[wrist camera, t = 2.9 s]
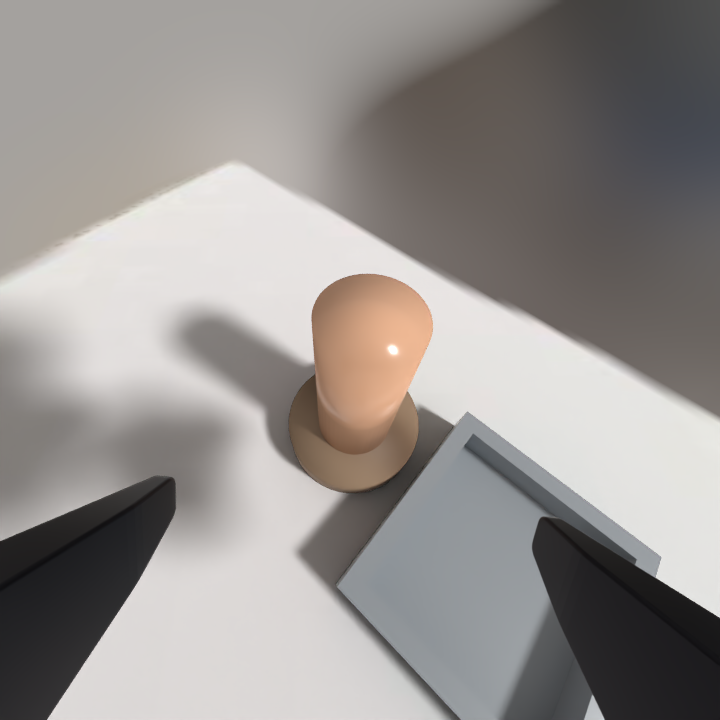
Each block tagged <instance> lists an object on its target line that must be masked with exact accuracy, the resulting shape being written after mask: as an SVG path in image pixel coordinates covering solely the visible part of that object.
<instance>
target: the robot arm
mask: <svg viewBox="0 0 720 720" xmlns="http://www.w3.org/2000/svg"><path fill="white" fill-rule="evenodd" d="M175 509H176V484H175V480H174V478H172V477H167V476H154V477H151V478H149V479H147V480H144V481H142V482H139V483H137V484H135V485H132V486H130V487H128V488H125V489H123V490H120V491H118V492H116V493H113V494H111V495H109V496H106V497H104V498H102V499H99V500H97V501H94V502H92V503H90V504H87V505H85V506H83V507H80V508H78V509H75V510H73V511H71V512H68V513H66V514H64V515H61V516H59V517H57V518H54V519H52V520H49V521H47V522H45V523H42V524H40V525H38V526H35V527H33V528H30V529H28V530H26V531H23V532H21V533H19V534H16V535H14V536H12V537H9V538H7V539H4V540H2V541H0V720H47V719H48V717H49V716H50V714H51V713H52V711H53V710H54V708H55V707H56V705H57V704H58V702H59V701H60V699H61V698H62V696H63V695H64V693H65V692H66V690H67V689H68V687H69V686H70V684H71V683H72V681H73V680H74V678H75V677H76V675H77V673H78V672H79V670H80V669H81V667H82V666H83V664H84V663H85V661H86V660H87V658H88V657H89V655H90V654H91V652H92V651H93V649H94V648H95V646H96V645H97V643H98V642H99V640H100V639H101V637H102V636H103V634H104V633H105V631H106V630H107V628H108V627H109V625H110V624H111V622H112V621H113V619H114V618H115V616H116V615H117V613H118V612H119V610H120V609H121V607H122V606H123V604H124V603H125V601H126V600H127V598H128V597H129V595H130V594H131V592H132V590H133V589H134V587H135V586H136V584H137V583H138V581H139V579H140V577H141V576H142V574H143V572H144V570H145V569H146V567H147V565H148V563H149V561H150V559H151V557H152V555H153V554H154V552H155V550H156V548H157V546H158V544H159V542H160V541H161V539H162V537H163V535H164V533H165V531H166V529H167V528H168V526H169V524H170V522H171V520H172V518H173V516H174V513H175ZM532 552H533V556H534V558H535V561H536V564H537V566H538V569H539V572H540V574H541V577H542V580H543V582H544V585H545V588H546V590H547V593H548V596H549V599H550V601H551V604H552V607H553V609H554V612H555V614H556V617H557V619H558V622H559V624H560V626H561V628H562V631H563V633H564V635H565V637H566V639H567V641H568V644H569V646H570V648H571V650H572V652H573V654H574V656H575V658H576V660H577V663H578V665H579V667H580V669H581V671H582V673H583V675H584V677H585V679H586V682H587V684H588V686H589V688H590V690H591V692H592V694H593V696H594V698H595V701H596V703H597V705H598V707H599V709H600V711H601V713H602V715H603V717H604V720H720V618H719V617H717V616H716V615H714V614H713V613H711V612H709V611H708V610H706V609H705V608H703V607H701V606H700V605H698V604H697V603H695V602H693V601H692V600H690V599H689V598H687V597H685V596H684V595H682V594H681V593H679V592H677V591H676V590H674V589H673V588H671V587H669V586H668V585H666V584H665V583H663V582H661V581H660V580H658V579H657V578H655V577H653V576H652V575H650V574H649V573H647V572H645V571H644V570H642V569H641V568H639V567H637V566H636V565H634V564H633V563H631V562H629V561H628V560H626V559H625V558H623V557H621V556H620V555H618V554H617V553H615V552H613V551H612V550H610V549H609V548H607V547H605V546H604V545H602V544H601V543H599V542H597V541H596V540H594V539H592V538H591V537H589V536H588V535H586V534H584V533H583V532H581V531H580V530H578V529H576V528H575V527H573V526H572V525H570V524H568V523H567V522H565V521H564V520H562V519H560V518H557V517H549V516H543V517H541V518H540V519H539V521H538V524H537V528H536V531H535V535H534V538H533V541H532Z"/></svg>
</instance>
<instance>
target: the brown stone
mask: <svg viewBox="0 0 720 720" xmlns="http://www.w3.org/2000/svg"><path fill="white" fill-rule="evenodd" d="M418 430H419V422H418V415H417V411H416V407H415V405H414V402H413V400H412V398H411V396H410V394H409V393H408V392H406V395H405V397H404V399H403V401H402V403H401V406H400V408H399V410H398V412H397V414H396V416H395V419H394V421H393V423H392V425H391V427H390V430H389V432H388V434H387V436H386V438H385V439H384V441H383V442H382V443H381V444H380V445H379V446H378V447H377V448H375V449H374V450H372V451H370V452H367V453H364V454H357V455H354V454H346V453H343V452H340V451H338V450H336V449H335V448H333V447H332V446H331V445H330V444H329V443H328V442H327V441H326V440H325V438H324V437H323V435H322V433H321V430H320V427H319V417H318V403H317V388H316V374H315V375H314V376H312V377H311V378H310V379H309V380H308V381H307V382H306V383H305V384H304V385H303V386H302V387H301V389H300V390H299V391H298V393H297V395H296V397H295V398H294V401H293V403H292V406H291V410H290V415H289V432H290V438H291V441H292V445H293V448H294V451H295V454H296V457H297V459H298V461H299V463H300V464H301V466H302V467H303V469H304V470H305V471H306V472H307V474H308V475H309V476H310V477H312V478H313V479H314V480H315V481H316V482H318V483H319V484H321V485H323V486H325V487H327V488H329V489H331V490H335V491H338V492H343V493H362V492H367V491H371V490H374V489H376V488H379V487H381V486H383V485H384V484H386V483H387V482H389V481H390V480H391V479H392V478H394V477H395V476H396V475H397V473H398V472H399V471H400V470H401V469H402V467H403V466H404V465H405V464H406V462H407V461H408V459H409V458H410V456H411V454H412V452H413V450H414V448H415V445H416V442H417V438H418Z"/></svg>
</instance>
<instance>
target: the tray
mask: <svg viewBox="0 0 720 720" xmlns="http://www.w3.org/2000/svg"><path fill="white" fill-rule="evenodd" d="M543 516H549V517H557V518H560V519H562V520H564V521H565V522H567V523H568V524H570V525H572V526H573V527H575V528H576V529H578V530H580V531H581V532H583V533H584V534H586V535H588V536H589V537H591V538H592V539H594V540H596V541H597V542H599V543H601V544H602V545H604V546H605V547H607V548H609V549H610V550H612V551H613V552H615V553H617V554H618V555H620V556H621V557H623V558H625V559H626V560H628V561H629V562H631V563H633V564H634V565H636V566H637V567H639V568H641V569H642V570H644V571H645V572H647V573H649V574H650V575H652V576H653V577H656V574H657V570H658V567H659V564H660V560H661V556H659V555H658V554H657V553H655V552H654V551H653V550H651V549H650V548H649V547H647V546H646V545H645V544H643V543H642V542H641V541H639V540H638V539H637V538H635V537H634V536H633V535H631V534H630V533H629V532H627V531H626V530H625V529H623V528H622V527H621V526H619V525H618V524H617V523H615V522H614V521H613V520H611V519H610V518H609V517H607V516H606V515H605V514H603V513H602V512H601V511H599V510H598V509H597V508H595V507H594V506H593V505H591V504H590V503H589V502H587V501H586V500H585V499H583V498H582V497H581V496H579V495H578V494H577V493H575V492H574V491H573V490H571V489H570V488H569V487H567V486H566V485H565V484H563V483H562V482H561V481H559V480H558V479H557V478H555V477H554V476H553V475H551V474H550V473H549V472H547V471H546V470H545V469H543V468H542V467H541V466H539V465H538V464H537V463H535V462H534V461H533V460H531V459H530V458H529V457H527V456H526V455H525V454H523V453H522V452H521V451H519V450H518V449H517V448H515V447H514V446H513V445H511V444H510V443H509V442H507V441H506V440H505V439H503V438H502V437H501V436H499V435H498V434H497V433H495V432H494V431H493V430H491V429H490V428H489V427H487V426H486V425H485V424H483V423H482V422H481V421H479V420H478V419H477V418H475V417H474V416H473V415H471V414H470V413H469V412H467V413H466V414H465V415H464V416H463V417H462V418H461V419H460V420H459V421H458V422H457V423H456V425H455V426H454V427H453V428H452V430H451V431H450V432H449V434H448V435H447V436H446V438H445V439H444V440H443V442H442V443H441V444H440V446H439V447H438V448H437V450H436V451H435V452H434V454H433V455H432V456H431V458H430V459H429V460H428V462H427V463H426V464H425V466H424V467H423V468H422V470H421V471H420V472H419V474H418V475H417V476H416V478H415V479H414V480H413V482H412V483H411V484H410V486H409V487H408V488H407V490H406V491H405V492H404V494H403V495H402V496H401V498H400V499H399V500H398V502H397V503H396V504H395V506H394V507H393V508H392V510H391V511H390V512H389V514H388V515H387V516H386V518H385V519H384V520H383V522H382V523H381V524H380V526H379V527H378V529H377V530H376V531H375V533H374V534H373V535H372V537H371V538H370V539H369V541H368V542H367V543H366V545H365V546H364V547H363V549H362V550H361V551H360V553H359V554H358V555H357V557H356V558H355V559H354V561H353V562H352V563H351V565H350V566H349V567H348V569H347V570H346V571H345V573H344V574H343V575H342V577H341V578H340V579H339V581H338V582H337V583H336V586H337V588H338V589H339V590H340V591H341V592H342V593H343V594H344V595H345V596H346V597H347V598H348V599H349V600H350V602H351V603H352V604H353V605H354V606H355V607H356V608H357V609H358V610H359V611H360V612H361V613H362V614H363V615H364V617H365V618H366V619H367V620H368V621H369V622H370V623H371V624H372V625H373V626H374V627H375V628H376V629H377V630H378V632H379V633H380V634H381V635H382V636H383V637H384V638H385V639H386V640H387V641H388V642H389V643H390V644H391V645H392V647H393V648H394V649H395V650H396V651H397V652H398V653H399V654H400V655H401V656H402V657H403V658H404V659H405V660H406V661H407V663H408V664H409V665H410V666H411V667H412V668H413V669H414V670H415V671H416V672H417V673H418V674H419V675H420V676H421V678H422V679H423V680H424V681H425V682H426V683H427V684H428V685H429V686H430V687H431V688H432V689H433V690H434V691H435V693H436V694H437V695H438V696H439V697H440V698H441V699H442V700H443V701H444V702H445V703H446V704H447V705H448V706H449V708H450V709H451V710H452V711H453V712H454V713H455V714H456V715H457V716H458V717H459V718H460V719H461V720H604V717H603V715H602V713H601V711H600V709H599V707H598V705H597V703H596V701H595V698H594V696H593V694H592V692H591V690H590V688H589V686H588V684H587V682H586V679H585V677H584V675H583V673H582V671H581V669H580V667H579V665H578V663H577V660H576V658H575V656H574V654H573V652H572V650H571V648H570V646H569V644H568V641H567V639H566V637H565V635H564V633H563V631H562V628H561V626H560V624H559V622H558V619H557V617H556V614H555V612H554V609H553V607H552V604H551V601H550V599H549V596H548V593H547V590H546V588H545V585H544V582H543V580H542V577H541V574H540V572H539V569H538V566H537V564H536V561H535V558H534V556H533V552H532V541H533V538H534V535H535V531H536V528H537V524H538V521H539V519H540V518H541V517H543Z"/></svg>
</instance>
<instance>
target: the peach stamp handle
mask: <svg viewBox="0 0 720 720" xmlns="http://www.w3.org/2000/svg"><path fill="white" fill-rule="evenodd" d="M312 332H313V346H314V360H315V374H316V388H317V403H318V417H319V427H320V430H321V433H322V435H323V437H324V438H325V440H326V441H327V442H328V443H329V444H330V445H331V446H332V447H333V448H335V449H336V450H338V451H340V452H343V453H346V454H354V455H357V454H364V453H367V452H370V451H372V450H374V449H375V448H377V447H378V446H379V445H380V444H381V443H382V442H383V441H384V439H385V438H386V436H387V434H388V432H389V430H390V427H391V425H392V423H393V421H394V419H395V416H396V414H397V412H398V410H399V408H400V406H401V403H402V401H403V399H404V397H405V395H406V392H407V390H408V388H409V386H410V384H411V382H412V379H413V377H414V375H415V373H416V371H417V368H418V366H419V364H420V362H421V360H422V358H423V355H424V353H425V351H426V349H427V347H428V344H429V342H430V339H431V337H432V332H433V321H432V316H431V313H430V310H429V308H428V306H427V304H426V303H425V301H424V300H423V299H422V297H421V296H420V295H419V294H418V293H417V292H416V291H415V290H413V289H412V288H411V287H409V286H408V285H406V284H404V283H403V282H401V281H398V280H396V279H393V278H391V277H387V276H383V275H377V274H358V275H352V276H348V277H345V278H342V279H340V280H338V281H336V282H334V283H332V284H331V285H329V286H328V287H327V288H326V289H324V290H323V292H322V293H321V294H320V295H319V297H318V298H317V300H316V302H315V304H314V306H313V310H312Z"/></svg>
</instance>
